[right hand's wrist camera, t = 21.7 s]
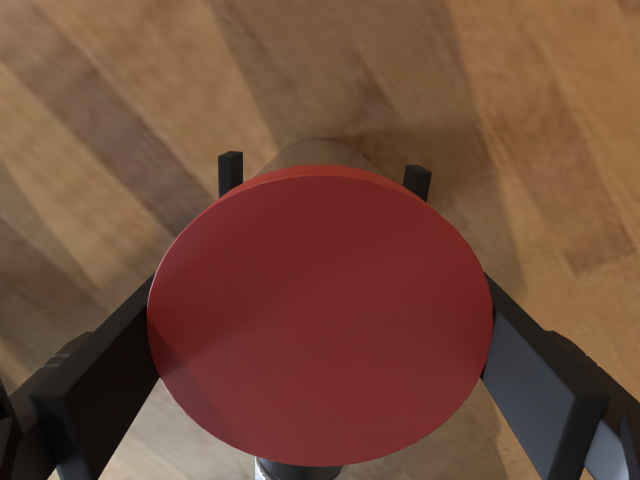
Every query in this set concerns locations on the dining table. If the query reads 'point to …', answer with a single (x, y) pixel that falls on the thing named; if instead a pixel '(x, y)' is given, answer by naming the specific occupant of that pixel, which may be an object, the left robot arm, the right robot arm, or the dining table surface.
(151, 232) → the dining table surface
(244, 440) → the lid
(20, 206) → the dining table surface
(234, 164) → the left robot arm
